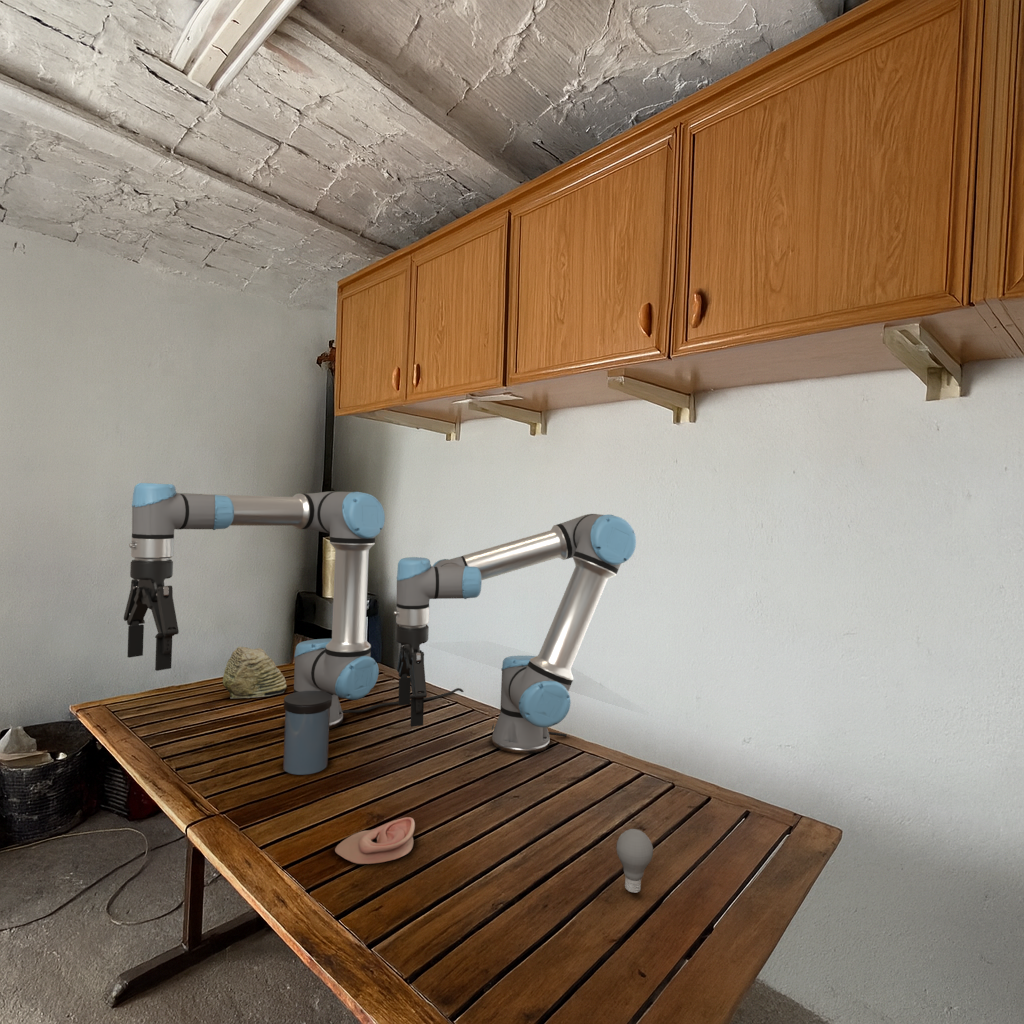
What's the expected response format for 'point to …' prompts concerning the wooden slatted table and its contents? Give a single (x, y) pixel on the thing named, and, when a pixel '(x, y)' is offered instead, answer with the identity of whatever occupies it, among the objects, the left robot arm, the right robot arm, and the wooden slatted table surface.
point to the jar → (306, 742)
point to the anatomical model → (379, 843)
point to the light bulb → (634, 857)
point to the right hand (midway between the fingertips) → (410, 714)
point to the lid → (307, 702)
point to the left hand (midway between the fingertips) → (148, 662)
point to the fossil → (252, 674)
